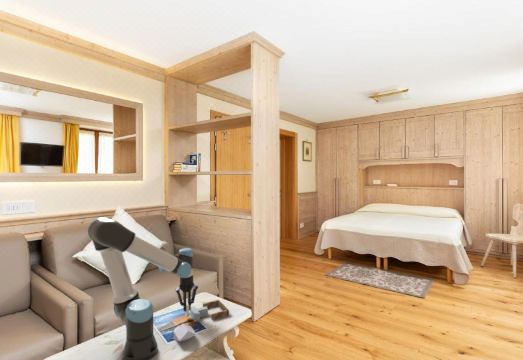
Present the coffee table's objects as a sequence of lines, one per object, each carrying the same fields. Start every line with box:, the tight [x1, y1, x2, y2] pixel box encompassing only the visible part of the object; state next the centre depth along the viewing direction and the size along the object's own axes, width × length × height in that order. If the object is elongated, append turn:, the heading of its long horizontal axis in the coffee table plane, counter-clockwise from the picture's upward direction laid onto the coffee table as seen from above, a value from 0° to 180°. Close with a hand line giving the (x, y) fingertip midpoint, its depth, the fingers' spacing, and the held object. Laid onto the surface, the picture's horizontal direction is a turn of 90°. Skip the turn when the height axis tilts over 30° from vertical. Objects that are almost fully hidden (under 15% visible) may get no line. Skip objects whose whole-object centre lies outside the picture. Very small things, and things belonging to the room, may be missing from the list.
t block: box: [189, 306, 209, 322], centre depth 168 cm, size 9×10×4 cm
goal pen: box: [202, 299, 230, 321], centre depth 173 cm, size 10×16×3 cm, turn 30°
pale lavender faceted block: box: [173, 323, 198, 342], centre depth 146 cm, size 9×7×13 cm
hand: (187, 316), depth 165 cm, fingers closed
